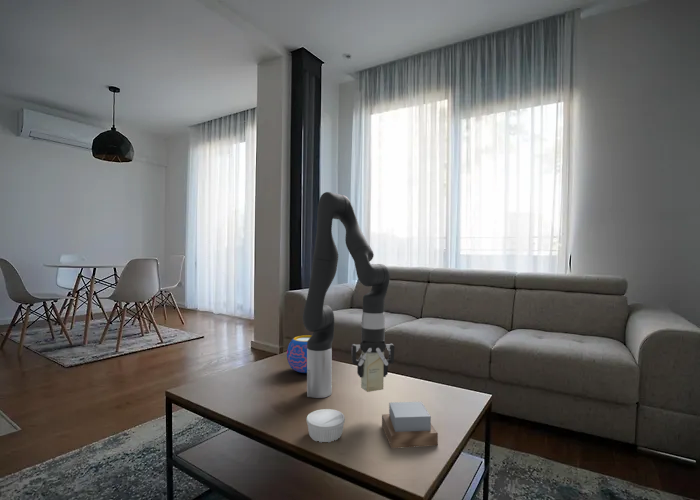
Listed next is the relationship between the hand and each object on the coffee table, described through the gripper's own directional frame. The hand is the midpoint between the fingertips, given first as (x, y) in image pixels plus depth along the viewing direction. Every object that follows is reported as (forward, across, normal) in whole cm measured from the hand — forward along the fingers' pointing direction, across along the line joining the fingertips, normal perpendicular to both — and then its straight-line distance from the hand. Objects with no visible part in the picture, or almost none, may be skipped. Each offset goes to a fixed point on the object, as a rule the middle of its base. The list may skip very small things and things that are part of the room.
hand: (372, 376), depth 118 cm
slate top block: (+9, +9, -13) cm, 18 cm away
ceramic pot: (+14, -22, +47) cm, 53 cm away
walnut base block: (+13, +9, -13) cm, 20 cm away
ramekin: (+13, -15, -10) cm, 23 cm away
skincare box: (+4, 0, 0) cm, 4 cm away
